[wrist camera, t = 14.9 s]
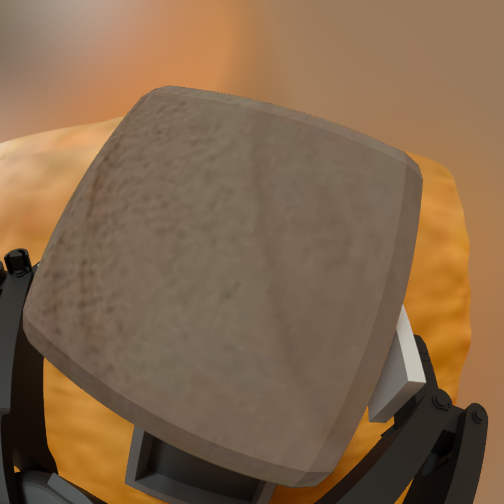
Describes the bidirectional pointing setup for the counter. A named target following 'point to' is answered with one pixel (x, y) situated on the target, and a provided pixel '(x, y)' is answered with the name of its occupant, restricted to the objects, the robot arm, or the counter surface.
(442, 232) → the counter surface
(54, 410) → the counter surface
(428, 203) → the counter surface
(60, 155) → the counter surface
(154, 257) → the wooden block
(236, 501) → the box
